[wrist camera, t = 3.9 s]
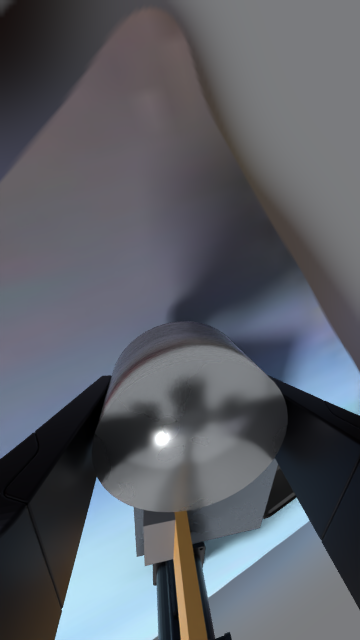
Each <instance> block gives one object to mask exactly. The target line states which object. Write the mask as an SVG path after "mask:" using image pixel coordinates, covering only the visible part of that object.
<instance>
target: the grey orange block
mask: <svg viewBox="0 0 360 640" xmlns="http://www.w3.org/2000/svg"><path fill="white" fill-rule="evenodd" d="M143 531H144V558H145V566H147V565H151V564H155V563H159V562H163V561H167V560H171V559H174V570H175V581H176V592H177V603H178V613H179V624H180V635H181V640H208V639H207V633H206V627H205V621H204V615H203V608H202V602H201V596H200V590H199V584H198V578H197V571H196V565H195V559H194V553H193V547H192V541H191V535H190V528H189V522H188V516H187V511H180V512H155V511H148V510H143Z"/></svg>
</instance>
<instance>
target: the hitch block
mask: <svg viewBox="0 0 360 640" xmlns="http://www.w3.org/2000/svg"><path fill="white" fill-rule="evenodd" d="M277 466H278V463H277V461H276V459H275V458H274V459H273V461H272V462H271V463H270V464H269V466H268V467H267V468H266V469H265V470H264V471H263V472H262V473H261V474H260V475H259V476H258V477H257V478H256V479H255V480H254V481H252V482H251V483H250V484H249V485H247V486H246V487H244V488H243V489H241V490H240V491H238V492H237V493H235V494H233V495H231V496H229V497H227V498H225V499H223V500H221V501H219V502H216V503H214V504H211V505H208V506H205V507H201V508H197V509H193V510H187V516H188V522H189V528H190V535H191V541H192V544H193V543H198V542H202V541H206V540H211V539H215V538H219V537H223V536H228V535H232V534H236V533H240V532H245V531H249V530H253V529H257V528H260V526H261V522H262V519H263V515H264V512H265V508H266V505H267V501H268V498H269V494H270V491H271V487H272V484H273V480H274V476H275V473H276V469H277ZM134 519H135V536H136V552H137V557H138V556H142V555H144V531H143V509H139V508H136V507H134Z"/></svg>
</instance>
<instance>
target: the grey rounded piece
mask: <svg viewBox="0 0 360 640" xmlns="http://www.w3.org/2000/svg"><path fill="white" fill-rule="evenodd" d="M287 423H288V413H287V406H286V403H285V399H284V397H283V395H282V393H281V391H280V389H279V388H278V387H277V385H276V384H275V383H274V381H273V380H271V379H270V378H269V377H268V376H267V375H266V374H265V373H264V372H263V371H262V370H261V369H260V368H259V367H258V366H257V365H256V364H255V363H254V362H253V361H252V360H251V359H250V358H249V357H248V356H247V355H246V354H245V353H244V352H243V351H242V350H240V349H239V348H238V347H237V346H236V345H235V344H234V343H233V342H232V341H231V340H230V339H229V338H228V337H227V336H226V335H225V334H223V333H222V332H220V331H219V330H217V329H215V328H213V327H211V326H209V325H205V324H202V323H197V322H187V321H182V322H172V323H167V324H163V325H160V326H157V327H155V328H152V329H150V330H148V331H146V332H145V333H143V334H142V335H140V336H138V337H137V338H136V339H135V340H134V341H132V342H131V343H130V344H129V345H128V346H127V347H126V348H125V350H124V351H123V352H122V354H121V355H120V357H119V358H118V360H117V362H116V364H115V367H114V370H113V373H112V377H111V380H110V383H109V387H108V390H107V394H106V397H105V401H104V404H103V407H102V411H101V414H100V418H99V421H98V425H97V428H96V431H95V435H94V438H93V444H92V463H93V467H94V471H95V473H96V475H97V477H98V479H99V481H100V482H101V484H102V485H103V487H104V488H105V489H106V490H107V491H108V492H109V493H110V494H111V495H113V496H114V497H115V498H117V499H118V500H120V501H122V502H124V503H126V504H128V505H130V506H133V507H136V508H139V509H143V510H148V511H155V512H180V511H187V510H193V509H197V508H201V507H205V506H208V505H211V504H214V503H216V502H219V501H221V500H223V499H225V498H227V497H229V496H231V495H233V494H235V493H237V492H238V491H240V490H241V489H243V488H244V487H246V486H247V485H249V484H250V483H251V482H252V481H254V480H255V479H256V478H257V477H258V476H259V475H260V474H261V473H262V472H263V471H264V470H265V469H266V468H267V467H268V466H269V464H270V463H271V462H272V461H273V459H274V458H275V456H276V454H277V453H278V451H279V449H280V447H281V445H282V443H283V440H284V437H285V434H286V430H287Z"/></svg>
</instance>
